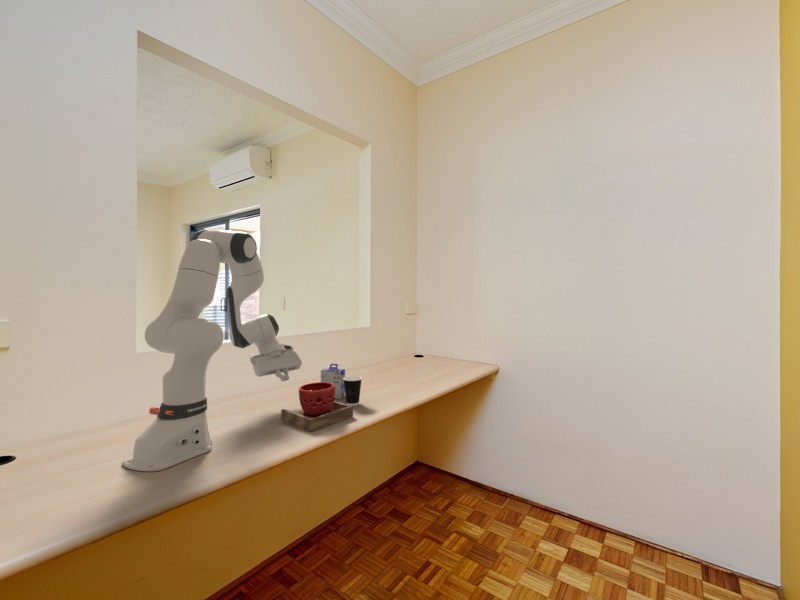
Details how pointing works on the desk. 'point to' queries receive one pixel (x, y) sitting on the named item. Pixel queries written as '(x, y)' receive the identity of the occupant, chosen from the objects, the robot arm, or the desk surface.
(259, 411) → the desk surface
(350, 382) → the dixie cup
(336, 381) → the ink cartridge box
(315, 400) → the plant pot
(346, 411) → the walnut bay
